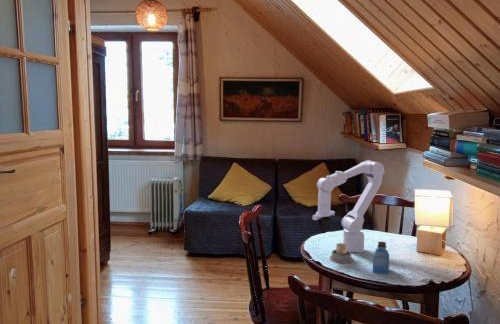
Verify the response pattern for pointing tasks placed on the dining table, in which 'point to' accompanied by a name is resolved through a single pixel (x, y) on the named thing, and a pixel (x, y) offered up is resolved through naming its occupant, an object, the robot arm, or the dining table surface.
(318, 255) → the dining table surface
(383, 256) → the blue corked bottle
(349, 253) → the bottle holder
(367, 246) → the dining table surface
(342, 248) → the wooden peg
